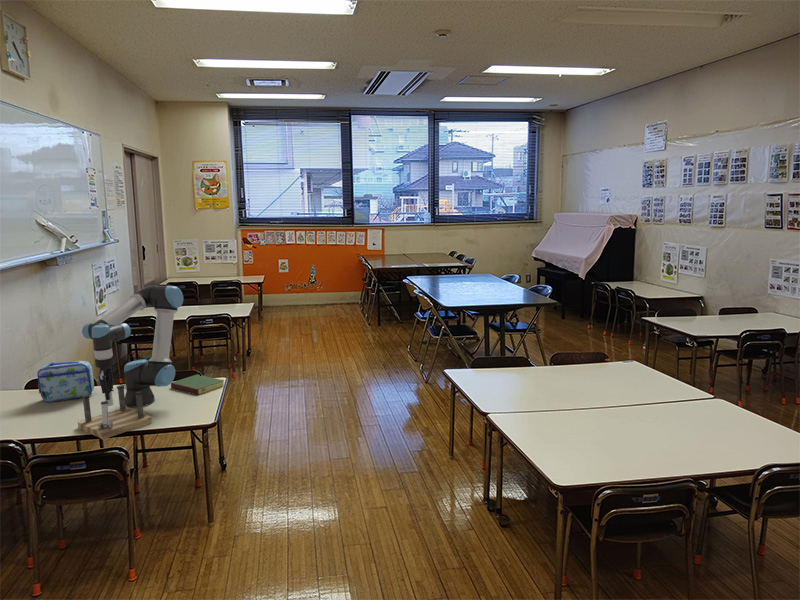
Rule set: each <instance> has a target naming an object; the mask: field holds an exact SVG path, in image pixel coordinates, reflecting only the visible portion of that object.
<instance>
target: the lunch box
mask: <svg viewBox="0 0 800 600" xmlns="http://www.w3.org/2000/svg"><path fill="white" fill-rule="evenodd" d="M36 376H37V381H38V384H37V387H38V393H39V394H40V397H41V400H43V402H44V403H45V402H46V403H52V402H57V401H65V400H74V399H79V398H81V399H82V396H84V395H89V397H90V396H91V395H92V393H93V392H94V390H95V381H94V375H93V368H92V364H91V363H90V362H89V361H87V360H73V361H72V360H71V361H62V362H50V363H47V364H45V365H44V366H42V368H40V369H39V370H37V375H36Z"/></svg>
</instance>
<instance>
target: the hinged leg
mask: <svg viewBox="0 0 800 600" xmlns="http://www.w3.org/2000/svg"><path fill="white" fill-rule="evenodd" d="M100 405H101V415H102V423H103V424H102V429H109V424H108V423H109V418H108V413H109V406H108V401H105V400H102V401H101V402H100Z"/></svg>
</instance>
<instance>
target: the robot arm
mask: <svg viewBox="0 0 800 600" xmlns="http://www.w3.org/2000/svg"><path fill="white" fill-rule="evenodd" d="M183 303H184V295H183V292H182V290H181V289H180V288H179V287H178V286H174V285H149V286H146V287H143V288H141V289H139V290H137V291H136V292H135V293H132V294H131V295H130V296H129V299H128V300H126V301H125V302H123V303H121V304H120V305H119V306H117V307H116V308H115V309H113V310H111V311H110V312H108V313H107V314H106V315H104V316H102V317H101V318H100V319H98V320H97V321H95V322H93V323H92V322H90V323H85V324H84V325H83V327H82V330H81V334H82V336H83V337H84V338H85V339H89V340H92V345H93V354H94V358H95V360H94V362H95V364H94V365H95V367H96V368H99V375H98V377H97V378H98V380H99V385H100V388H101V392H102V394H104V398H105V400H104V401H108V407H111V406H113V405H114V400H113V398H114V397H113V392H114V391H115V390H114V367H112V366H113V365H114V364H115V362H114V357H113V356H114V354H113V346H112V343H115V342H118V341H121V340H125V339H126V338H129V337H130V336H131V334H132V330H131V327H130V326H129V325H128V324H127V323H125V321H126V320H127V319H129V318H130V317H132V316H133V315H135V314H136V313H137V312H138V311H139V312H140V311H143V310H145V309H147V308H151V307H153V309H154V311H155V313H156V318H155V319H156V320H155V327H154V328H155V329H154V335H153V343H152V351H151V352H152V353H151V355H152V358H151V359H149V360H148V361H147V360H145V359H143V360H141V359H140V360H139V359H137V360H134V361H130V362H127V363H126V364H125V365H124V368H123V370H124V371H123V373H124V380H125V386H126V387H125V388H126V389H125V390H126V392H125V394H124V396H125V405H126V407H127V408H137V403H136V395H135V392H139V391H140V392H142V402H143V407H144V406H148V405H151V404H153V403H154V402H155V401H156V398H155V394H154V392H153V390H152V388H151V386H152V387H159V388H160V387H168V386H169V385H171V382H174V379H175V377H176V369H175V366H174V365H172V360H171V358H170V352H171V345H172V343H171V342H172V335H173V327H174V326H173V325H174V319H175V317H174V316H175V314H177V312H178V308H181V307H182V305H183Z"/></svg>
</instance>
